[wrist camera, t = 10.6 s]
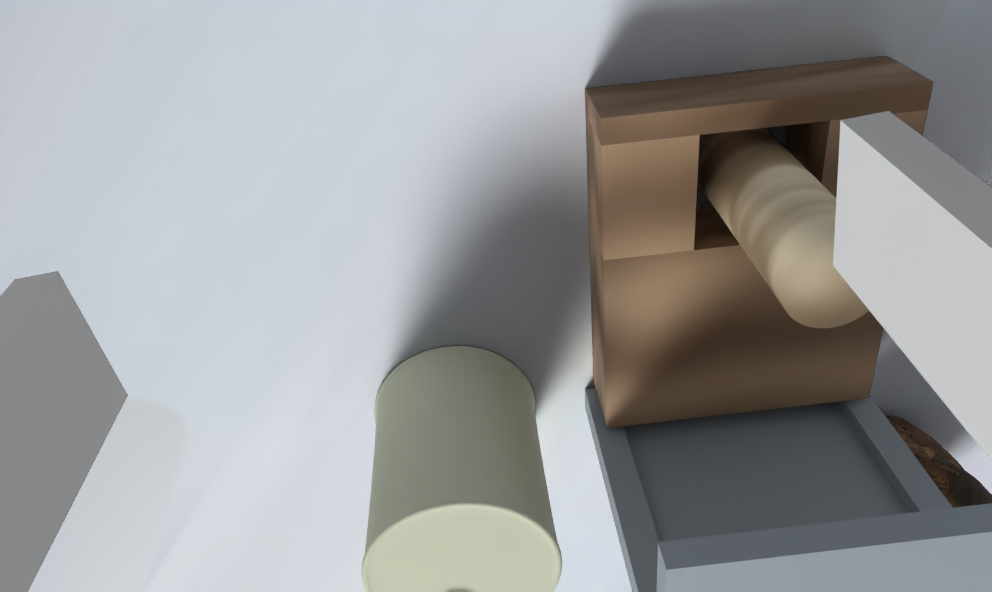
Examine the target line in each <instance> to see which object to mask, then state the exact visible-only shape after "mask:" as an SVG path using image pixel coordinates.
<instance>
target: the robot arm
mask: <svg viewBox="0 0 992 592" xmlns="http://www.w3.org/2000/svg"><path fill="white" fill-rule="evenodd" d="M833 266H834V267H835V269H836V270H837V271H838V272H839V274H840V275H841V276H842V277H843V278H844V280H845V281H846V282H847V283H848V285H849V286H850V287H851V288H852V290H853V291H854V292H855V293H856V295H857V296H858V297H859V298H860V299H861V301H862V302H863V303H864V304H865V306H866V307H867V308H868V309H869V311H870V312H871V313H872V314H873V316H874V317H875V318H876V319H877V320H878V322H879V323H880V324H881V325H882V327H883V328H884V329H885V330H886V332H887V333H888V334H889V335H890V337H891V338H892V339H893V340H894V342H895V343H896V344H897V345H898V346H899V348H900V349H901V350H902V351H903V353H904V354H905V355H906V356H907V358H908V359H909V360H910V361H911V363H912V364H913V365H914V366H915V367H916V369H917V370H918V371H919V372H920V374H921V375H922V376H923V377H924V379H925V380H926V381H927V382H928V384H929V385H930V386H931V387H932V388H933V390H934V391H935V392H936V393H937V395H938V396H939V397H940V398H941V400H942V401H943V402H944V403H945V405H946V406H947V407H948V408H949V409H950V411H951V412H952V413H953V414H954V416H955V417H956V418H957V419H958V421H959V422H960V423H961V424H962V426H963V427H964V428H965V429H966V430H967V432H968V433H969V434H970V435H971V437H972V438H973V439H974V440H975V442H976V443H977V444H978V445H979V447H980V448H981V449H982V450H983V452H984V453H985V454H986V455H987V456H988V458H989V459H990V460H991V461H992V187H991V186H990V185H988V184H987V183H986V182H984V181H983V180H982V179H980V178H979V177H978V176H976V175H975V174H973V173H972V172H971V171H969V170H968V169H967V168H965V167H964V166H963V165H961V164H960V163H959V162H957V161H956V160H954V159H953V158H952V157H950V156H949V155H948V154H946V153H945V152H944V151H942V150H941V149H940V148H938V147H937V146H935V145H934V144H933V143H931V142H930V141H929V140H927V139H926V138H925V137H923V136H922V135H921V134H919V133H918V132H917V131H915V130H914V129H912V128H911V127H910V126H908V125H907V124H906V123H904V122H903V121H902V120H900V119H899V118H898V117H896V116H895V115H893V114H892V113H891V112H889V111H886V112H880V113H875V114H870V115H865V116H860V117H855V118H849V119H844V120H841V121H840V140H839V159H838V178H837V197H836V216H835V236H834V255H833ZM127 396H128V395H127V393H126V391H125V390H124V388H123V386H122V384H121V382H120V381H119V379H118V377H117V375H116V373H115V372H114V370H113V368H112V366H111V365H110V363H109V361H108V359H107V357H106V356H105V354H104V352H103V350H102V349H101V347H100V345H99V343H98V341H97V340H96V338H95V336H94V334H93V333H92V331H91V329H90V327H89V325H88V324H87V322H86V320H85V318H84V317H83V315H82V313H81V311H80V309H79V308H78V306H77V304H76V302H75V301H74V299H73V297H72V295H71V293H70V292H69V290H68V288H67V286H66V284H65V283H64V281H63V279H62V277H61V276H60V274H59V272H58V271H56V272H51V273H46V274H41V275H36V276H30V277H25V278H20V279H15V280H14V281H13V282H12V283H11V284H10V286H9V287H8V288H7V289H6V290H5V291H4V293H3V294H2V295H1V296H0V592H28V590H29V588H30V586H31V584H32V582H33V580H34V578H35V577H36V575H37V573H38V571H39V569H40V567H41V565H42V563H43V561H44V559H45V557H46V555H47V553H48V551H49V549H50V547H51V545H52V543H53V541H54V539H55V537H56V535H57V533H58V531H59V529H60V527H61V525H62V523H63V522H64V520H65V518H66V516H67V514H68V512H69V510H70V508H71V506H72V504H73V502H74V500H75V498H76V496H77V494H78V492H79V490H80V488H81V486H82V484H83V482H84V480H85V478H86V476H87V474H88V472H89V470H90V468H91V466H92V465H93V463H94V461H95V459H96V457H97V455H98V453H99V451H100V449H101V447H102V445H103V443H104V441H105V439H106V437H107V435H108V433H109V431H110V429H111V427H112V425H113V423H114V421H115V419H116V417H117V415H118V413H119V412H120V410H121V408H122V406H123V404H124V402H125V400H126V398H127Z"/></svg>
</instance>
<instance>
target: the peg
mask: <svg viewBox="0 0 992 592" xmlns="http://www.w3.org/2000/svg"><path fill="white" fill-rule="evenodd" d="M697 183H698V184H699V186H700V187H701V189H702V190H703V192H704V193H705V195H706V196H707V198H708V199H709V200H710V202H711V203H712V205H713V206H714V208H715V209H716V211H717V212H718V213H719V215H720V216H721V218H722V219H723V221H724V222H725V224H726V225H727V226H728V228H729V229H730V231H731V232H732V234H733V235H734V237H735V238H736V239H737V241H738V242H739V244H740V245H741V247H742V248H743V250H744V251H745V252H746V254H747V255H748V257H749V258H750V260H751V261H752V263H753V264H754V265H755V267H756V268H757V270H758V271H759V273H760V274H761V276H762V277H763V278H764V280H765V281H766V283H767V284H768V286H769V287H770V289H771V290H772V291H773V293H774V294H775V296H776V297H777V299H778V300H779V302H780V303H781V305H782V306H783V307H784V309H785V310H786V312H787V313H788V314H789V316H790V317H791V318H792V319H794V320H795V321H797V322H798V323H800V324H802V325H805V326H808V327H812V328H832V327H838V326H841V325H844V324H847V323H850V322H852V321H854V320H856V319H858V318H859V317H861V316H863V315H864V314H865V313H867V312H868V311H869V309H868V308H867V307H866V306H865V304H864V303H863V302H862V301H861V299H860V298H859V297H858V296H857V295H856V293H855V292H854V291H853V290H852V288H851V287H850V286H849V285H848V283H847V282H846V281H845V280H844V278H843V277H842V276H841V275H840V274H839V272H838V271H837V270H836V269H835V267H834V266H833V255H834V236H835V216H836V198H835V197H834V196H833V195H832V194H831V193H830V192H829V191H828V190H827V189H826V188H825V187H824V186H823V185H822V184H821V183H820V182H819V181H818V180H817V179H816V178H815V177H814V176H813V175H812V174H811V173H810V172H809V171H808V170H807V169H806V168H805V167H804V166H803V165H802V164H801V163H800V162H799V161H798V160H797V159H796V158H795V157H794V156H793V155H792V154H791V153H790V152H789V151H788V150H787V149H786V148H785V147H784V146H783V145H782V144H781V143H780V142H779V141H778V140H777V139H776V138H775V137H774V136H773V135H772V134H771V133H770V132H769V131H768V130H767V129H766V128H758V129H749V130H740V131H731V132H722V133H712V134H703V135H700V138H699V158H698V179H697Z"/></svg>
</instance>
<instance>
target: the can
mask: <svg viewBox="0 0 992 592" xmlns="http://www.w3.org/2000/svg"><path fill="white" fill-rule="evenodd" d="M374 414H375V423H376V434H375V449H374V462H373V474H372V486H371V497H370V507H369V518H368V528H367V539H366V547H365V555H364V558H363V562H362V580H363V584H364V588H365V590H366V592H554V590H555V588H556V586H557V584H558V582H559V579H560V575H561V570H562V556H561V551H560V548H559V545H558V542H557V538H556V533H555V528H554V523H553V518H552V512H551V507H550V501H549V496H548V490H547V485H546V479H545V474H544V468H543V462H542V456H541V450H540V444H539V438H538V432H537V424H536V417H535V414H536V402H535V396H534V392H533V389H532V387H531V385H530V383H529V381H528V380H527V378H526V377H525V375H524V374H523V373H522V372H521V371H520V369H518V368H517V367H516V366H515V365H514V364H513V363H511V362H510V361H508V360H507V359H505V358H504V357H502V356H500V355H498V354H496V353H493V352H491V351H488V350H485V349H480V348H476V347H469V346H447V347H440V348H435V349H431V350H427V351H424V352H422V353H419V354H417V355H415V356H413V357H411V358H409V359H407V360H406V361H404V362H403V363H401V364H400V365H399V366H397V367H396V368H395V369H394V370H393V371H392V372H391V373H390V374H389V375H388V376H387V378H386V379H385V380H384V382H383V384H382V385H381V387H380V389H379V391H378V394H377V397H376V401H375V408H374Z"/></svg>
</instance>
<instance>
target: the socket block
mask: <svg viewBox="0 0 992 592" xmlns="http://www.w3.org/2000/svg"><path fill="white" fill-rule="evenodd" d="M932 87H933V82H932V81H930V80H929V79H927V78H925V77H923V76H922V75H920V74H918V73H916V72H915V71H913V70H911V69H909V68H908V67H906V66H904V65H902V64H901V63H899V62H897V61H895V60H894V59H892V58H890V57H888V56H882V57H872V58H863V59H854V60H845V61H835V62H826V63H817V64H808V65H799V66H789V67H780V68H771V69H762V70H753V71H743V72H734V73H725V74H716V75H706V76H697V77H688V78H679V79H670V80H660V81H651V82H642V83H633V84H623V85H614V86H605V87H596V88H587V89H585V105H586V140H587V174H588V209H589V244H590V278H591V313H592V347H593V381H594V385H595V388H596V392H597V396H598V399H599V403H600V406H601V410H602V413H603V417H604V420H605V424H606V428H611V427H620V426H629V425H638V424H646V423H655V422H664V421H673V420H681V419H690V418H699V417H708V416H716V415H725V414H734V413H742V412H751V411H760V410H769V409H777V408H786V407H795V406H804V405H812V404H821V403H830V402H838V401H847V400H856V399H865V398H869V395H870V390H871V385H872V381H873V376H874V371H875V366H876V361H877V356H878V351H879V346H880V341H881V336H882V332H883V327H882V325H881V324H880V323H879V322H878V320H877V319H876V318H875V317H874V316H873V314H872V313H871V312H870V311H868V312H867V313H865V314H864V315H863V316H861V317H859V318H858V319H856V320H854V321H852V322H850V323H847V324H844V325H841V326H838V327H832V328H812V327H808V326H805V325H802V324H800V323H798V322H797V321H795V320H794V319H792V318H791V317H790V316H789V314H788V313H787V312H786V310H785V309H784V307H783V306H782V305H781V303H780V302H779V300H778V299H777V297H776V296H775V294H774V293H773V291H772V290H771V289H770V287H769V286H768V284H767V283H766V281H765V280H764V278H763V277H762V276H761V274H760V273H759V271H758V270H757V268H756V267H755V265H754V264H753V263H752V261H751V260H750V258H749V257H748V255H747V254H746V252H745V251H744V250H743V248H742V247H741V245H740V244H739V242H738V241H737V239H736V238H735V237H734V235H733V234H732V232H731V231H730V229H729V228H728V226H727V225H726V224H725V222H724V221H723V219H722V218H721V216H720V215H719V213H718V212H717V211H716V209H715V208H705V209H696V199H697V179H698V158H699V138H700V135H703V134H712V133H722V132H731V131H740V130H749V129H758V128H767V127H776V126H786V125H790V132H789V141H788V151H789V152H790V153H791V154H792V155H793V156H794V157H795V158H796V159H797V160H798V161H799V162H800V163H801V164H802V165H803V166H804V167H805V168H806V169H807V170H808V171H809V172H810V173H811V174H812V175H813V176H814V177H815V178H816V179H817V180H818V181H819V182H820V183H821V184H822V185H823V186H824V187H825V188H826V189H827V190H828V191H829V192H830V193H831V194H832V195H833V196H834V197H835V198H836V197H837V178H838V159H839V140H840V121H841V120H844V119H849V118H855V117H860V116H865V115H870V114H875V113H880V112H886V111H889V112H891V113H892V114H893V115H895V116H896V117H898V118H899V119H900V120H902V121H903V122H904V123H906V124H907V125H908V126H910V127H911V128H912V129H914V130H915V131H917V132H918V133H919V134H921V135H922V136H923V131H924V126H925V121H926V116H927V111H928V106H929V101H930V96H931V91H932Z"/></svg>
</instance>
